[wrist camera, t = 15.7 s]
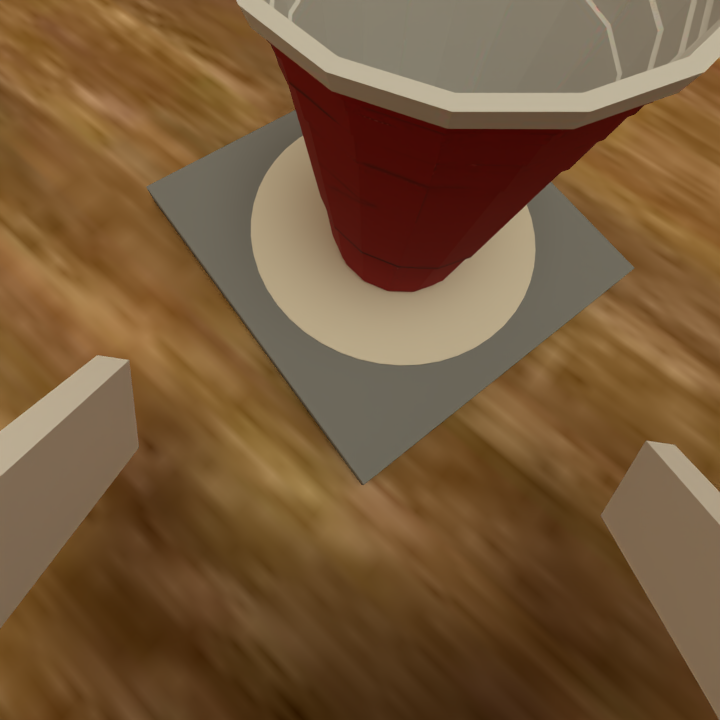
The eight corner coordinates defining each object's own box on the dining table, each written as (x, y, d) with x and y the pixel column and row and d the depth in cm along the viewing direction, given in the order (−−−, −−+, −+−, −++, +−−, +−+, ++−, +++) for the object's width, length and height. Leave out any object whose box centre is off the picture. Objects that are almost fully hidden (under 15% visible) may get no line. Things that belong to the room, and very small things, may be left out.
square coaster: (415, 63, 24) (419, 44, 23) (620, 278, 21) (636, 267, 20) (154, 201, 20) (145, 185, 19) (361, 484, 17) (364, 484, 16)
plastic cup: (303, 115, 21) (278, -348, 9) (519, 164, 21) (760, -229, 9) (242, 319, 17) (86, 1, 6) (498, 373, 18) (820, 167, 6)
